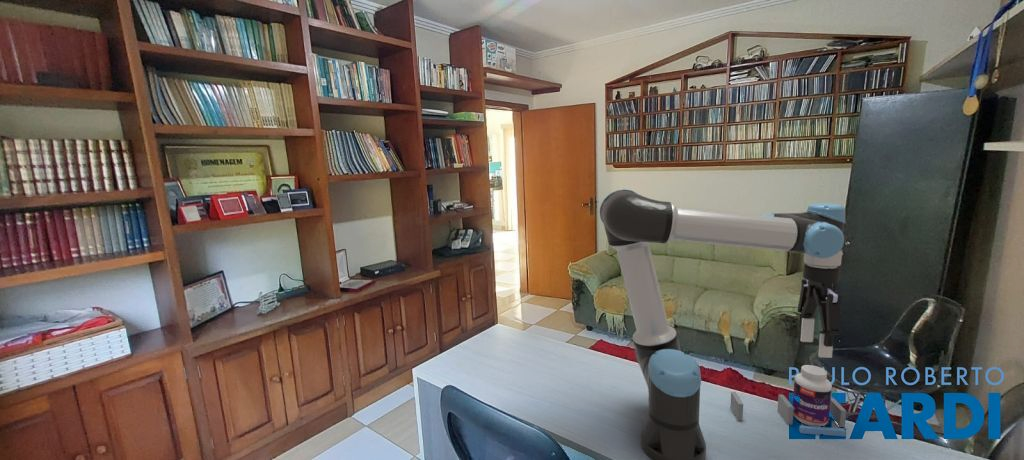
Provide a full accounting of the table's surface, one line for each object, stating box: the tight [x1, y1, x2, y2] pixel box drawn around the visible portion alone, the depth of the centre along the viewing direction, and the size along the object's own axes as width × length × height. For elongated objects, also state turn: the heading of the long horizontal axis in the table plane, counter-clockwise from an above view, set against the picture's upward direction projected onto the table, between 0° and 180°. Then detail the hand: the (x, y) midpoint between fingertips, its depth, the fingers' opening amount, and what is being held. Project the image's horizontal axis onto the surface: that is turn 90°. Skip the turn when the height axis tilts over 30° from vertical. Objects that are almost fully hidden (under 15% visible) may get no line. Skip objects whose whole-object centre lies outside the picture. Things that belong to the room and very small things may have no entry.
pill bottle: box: [792, 364, 833, 427], centre depth 109 cm, size 8×8×14 cm
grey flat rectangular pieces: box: [730, 391, 847, 437], centre depth 109 cm, size 10×26×5 cm, turn 79°
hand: (815, 348), depth 107 cm, fingers open, 8 cm apart
